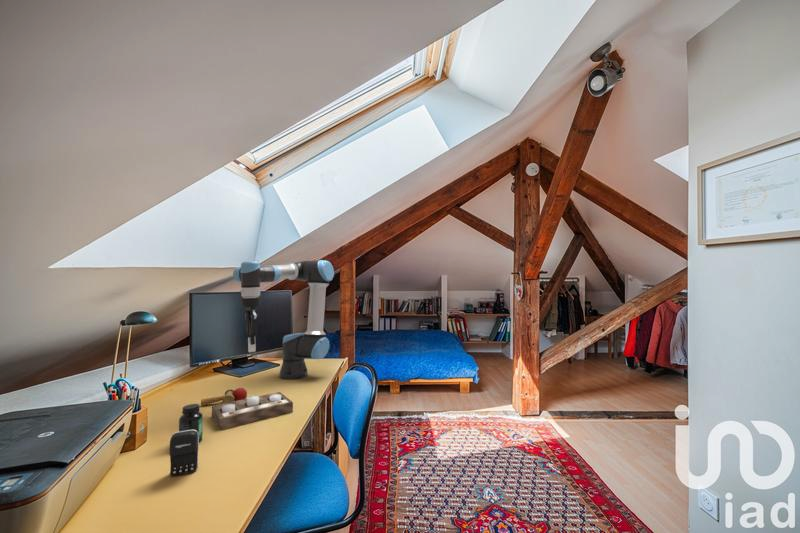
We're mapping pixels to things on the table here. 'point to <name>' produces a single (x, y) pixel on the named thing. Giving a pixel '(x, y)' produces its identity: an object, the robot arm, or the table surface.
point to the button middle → (252, 401)
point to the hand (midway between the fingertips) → (252, 351)
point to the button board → (251, 411)
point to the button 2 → (275, 397)
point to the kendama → (227, 397)
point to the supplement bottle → (191, 419)
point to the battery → (184, 452)
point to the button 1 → (228, 408)
